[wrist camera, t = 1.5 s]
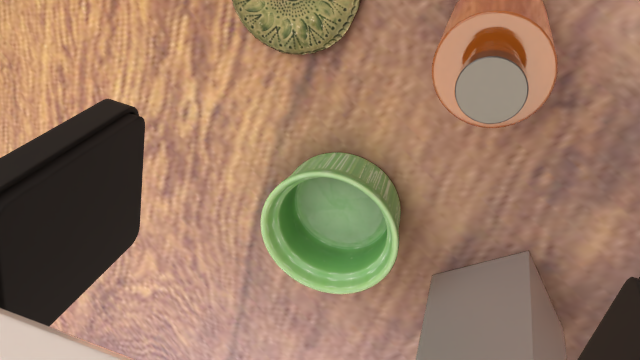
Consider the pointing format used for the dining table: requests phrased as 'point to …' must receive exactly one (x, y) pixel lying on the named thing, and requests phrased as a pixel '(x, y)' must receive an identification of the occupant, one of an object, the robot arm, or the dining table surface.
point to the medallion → (297, 22)
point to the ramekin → (333, 224)
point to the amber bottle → (495, 61)
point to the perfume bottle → (491, 314)
